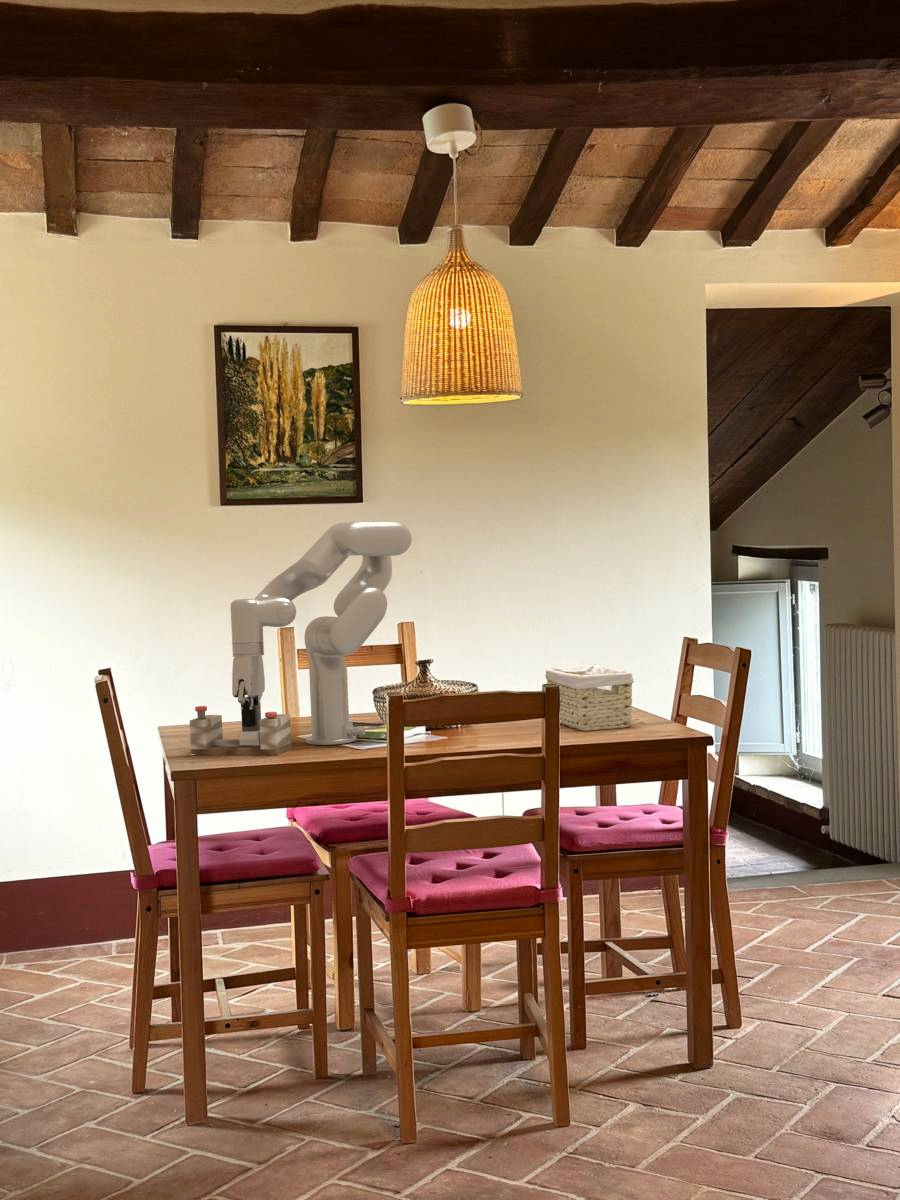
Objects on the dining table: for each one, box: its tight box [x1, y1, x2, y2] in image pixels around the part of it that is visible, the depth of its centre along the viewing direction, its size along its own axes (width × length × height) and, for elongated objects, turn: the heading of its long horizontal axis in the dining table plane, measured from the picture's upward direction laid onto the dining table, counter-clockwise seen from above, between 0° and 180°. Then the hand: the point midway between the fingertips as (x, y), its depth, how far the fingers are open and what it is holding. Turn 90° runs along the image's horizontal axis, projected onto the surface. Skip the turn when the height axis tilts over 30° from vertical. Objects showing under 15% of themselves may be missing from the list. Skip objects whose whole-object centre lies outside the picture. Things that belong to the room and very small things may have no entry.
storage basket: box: [544, 664, 634, 732], centre depth 340 cm, size 24×16×15 cm
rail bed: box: [189, 713, 292, 756], centre depth 315 cm, size 22×10×8 cm, turn 77°
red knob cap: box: [264, 711, 278, 719], centre depth 310 cm, size 3×3×4 cm
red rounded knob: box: [194, 705, 208, 720], centre depth 314 cm, size 3×3×4 cm
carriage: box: [237, 705, 262, 745], centre depth 314 cm, size 5×5×9 cm
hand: (251, 724), depth 314 cm, fingers closed on carriage, 2 cm apart
